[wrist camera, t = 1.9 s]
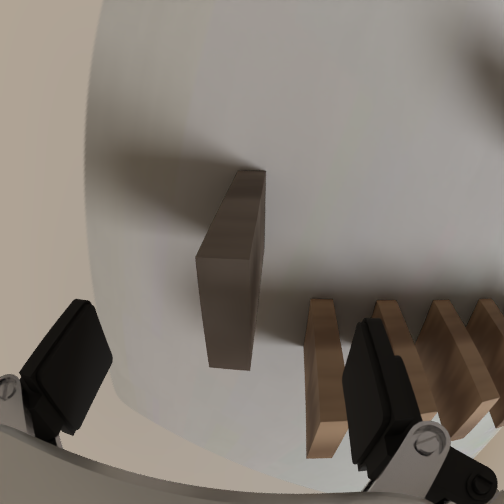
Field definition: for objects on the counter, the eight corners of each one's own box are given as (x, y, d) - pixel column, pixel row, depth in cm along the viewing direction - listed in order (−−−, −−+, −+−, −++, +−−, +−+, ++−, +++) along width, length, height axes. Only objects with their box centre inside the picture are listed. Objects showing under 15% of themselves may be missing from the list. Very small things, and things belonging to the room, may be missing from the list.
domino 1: (238, 170, 18) (195, 257, 9) (265, 171, 18) (249, 260, 9) (239, 245, 20) (209, 367, 12) (264, 247, 20) (249, 370, 11)
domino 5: (479, 299, 21) (531, 387, 12) (491, 298, 21) (544, 383, 12) (458, 341, 23) (495, 428, 15) (470, 340, 23) (508, 423, 14)
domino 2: (310, 298, 22) (320, 421, 13) (332, 299, 22) (352, 420, 13) (303, 346, 24) (306, 458, 16) (322, 346, 24) (331, 457, 16)
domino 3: (376, 300, 21) (413, 415, 13) (396, 300, 21) (438, 411, 13) (362, 346, 24) (383, 453, 15) (379, 346, 24) (405, 450, 15)
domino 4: (433, 300, 21) (482, 401, 12) (449, 299, 21) (500, 397, 12) (414, 345, 24) (446, 442, 15) (429, 344, 23) (463, 437, 15)
